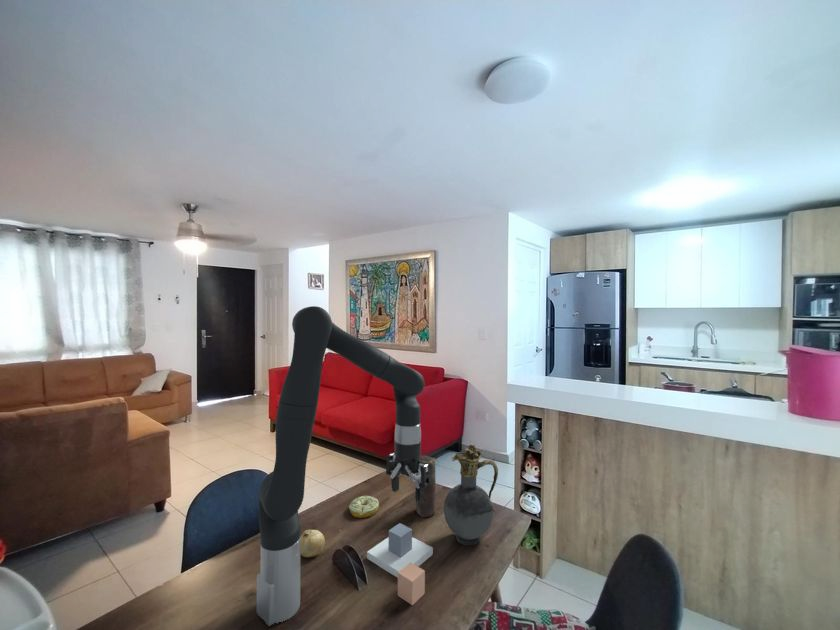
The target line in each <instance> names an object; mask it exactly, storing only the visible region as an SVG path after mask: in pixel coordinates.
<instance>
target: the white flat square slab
mask: <svg viewBox="0 0 840 630" xmlns="http://www.w3.org/2000/svg"><path fill="white" fill-rule="evenodd" d="M388 548H389V536H388V537H386V538H385V539H384V540H382V541H380V542H379V543H378V544H375V546H374V547H371V549H368V551H367V552H366V559H367V560H369V561H371V562H372V563H374V564H375V565H377V566H378V567H379V568H381V569H383V570H385V571H386V572H387V573H389V574H391V575H392V576H394V577H396V578H397V579H398V572H399V571H400V570H402V569H403V568H404V567H405V566H407V565H408V564H409V563H410V562H411V563H412V564H414V565H416V566H417V567H419V568H420V566H421V565H422V564H424V563H425V562H426V561H427V560H428V559H429V558H431V557H432V556H433V554H434V552H433V551H434V548H433V547H432V546H430V545H428V544H427V543H424V542H423V541H420V540H418V539H417V538H415V537H413V536H412V549H411V550H410V551H409V552H408V553H406V554H405V555H404V556H402V557H401V558H400V557H399V556H397V555H395V554H394V553H392V552H390V551H388Z"/></svg>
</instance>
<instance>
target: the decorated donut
mask: <svg viewBox="0 0 840 630" xmlns="http://www.w3.org/2000/svg"><path fill="white" fill-rule="evenodd" d="M379 505H380V503H379V500H378V499H377V498H376V497H374V496H370V495H362V496H358V497H356V498H355V499H352V501H351V502H350V504H349V506H348V509H349V510H350V511H349V513H350V514H351V515H352V516H353V517H354V518H358V519H363V518H365V519H366V518H367V517H368V518H369V517H371V516H374V515H375V514H376V513H377V511H378V510H379Z"/></svg>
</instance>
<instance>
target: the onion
mask: <svg viewBox="0 0 840 630" xmlns="http://www.w3.org/2000/svg"><path fill="white" fill-rule="evenodd" d="M325 544H326V538H325V536H324V534H323V533H322V532H321V531H319V530H318V529H310V528H309V529H306V530H304V531H303V533H302V535H301V546H300V556H302V557H304V558H313V557H317V556H318V555H320V554H321V552H322V551H323V549H324V547H325Z"/></svg>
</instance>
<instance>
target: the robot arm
mask: <svg viewBox="0 0 840 630" xmlns="http://www.w3.org/2000/svg"><path fill="white" fill-rule="evenodd" d="M332 320H333V319H332V318H331V316H330V314H329V313H328V311H327V310H325V309H324V308H323V307H320V306H316V305H314V306H307V307H304V308H301V309H300V310H299V311H297V312H296V313H295V314H294V316H293V318H292V322H291V323H292V324H291V327H292V331H293V333H294V337H293V339H294V340H293V348H292V349H293V350H292V356H291V362H290V365H289V369H288V370H287V374H286V376H285V379H284V382H283V385H282V388H281V391H280V396H279V400H278V404H277V411H276V418H275V461H274V462H275V463H274V465H273V466H274V468H273V470H272V471H271V472H269V473H268V474H267V475H266V476H265V477H264V479H263V480H262V482H261V484H260V486H259V491H258V492H259V493H258V521H259V522H258V524H259V525H258V526H259V536H260V568H259V569H260V571H259V573H258V574H257V575H256V614H257V613H258V614H259V615H260V617H261V618H262V619H263V620H264V621H265V622H266V623H265V622H264V621H263V620H262V619H261V618H260V617H259V618H260V619H261V620H262V621H263V622H264V623H265V624H266V625H267V624H268V625H269V626H270V625H272V624H273V625H275V624H274V623H276V624H279V622H281V623H283V621H284V622H285V620H286V621H288V620H290V619H291V618H292V617H293V616H295V615H296V614H297V612H298V611H299V609H300V606H301V555H300V546H301V532H302V531H301V530H302V527H301V522H300V516H299V510H300V508H301V506H302V504H303V501H304V498H305V483H306V470H307V469H306V468H307V459H308V454H309V451H310V445H311V441H312V435H313V431H314V430H313V429H314V425H315V421H316V416H317V415H316V414H317V410H318V404H319V397H320V396H319V395H320V390H321V389H320V388H321V378H322V369H323V368H322V367H323V361H324V357H325V355H326V351H327V349H328V350H329V351H332V352H334V353H335V354H338V355H339V356H341V357H342V358H343V359H346V360H347V361H348V362H351V363H352V364H354V365H355V366H356V367H358V368H360V369H361V370H362V371H364V372H367V374H370V375H371V376H373V377H375V378H376V379H379V380H381V381H383V382H385V383H387V384H389V385H391V386H392V388H393V395H394V402H395V409H396V410H395V429H394V452H391V453H388V454H387V455H386V463H385V465H386V467H385V474H386V475H387V476H390V479H391V491H392V492H393V493H396V492H398V490H400V477H399V476H400V474H401V475H403V476H404V475H405V476H406V477H409V478H410V480H411V482H413V483H414V485H415V500H414V501H415V502H416V501H417V502H418V501H420V500H421V499H422V498H423V489H424V488H425V487H427V486H429V485H430V471H429V464H421V463H420V460H419V458H420V456H422V455H421V454H422V453H421V452H422V429H421V405H420V404H419V403H418V402H419V401H418V400H417V395H419V394H421V393H422V392H423V390H424V389H425V378H424V376H423V375H422V374H421V373H420V372H419V371H417V370H415V369H414V368H412V367H410V366H408V365H406V364H405V363H402V362H400V361H398V360H397V359H395V358H394V357H392V356H391V355H390V354H388V353H386V352H384V351H383V350H381V349H379V348H378V347H376V346H374V345H373V344H371V343H368V342H367V341H364V340H362V339H360V338H358V337H356V336H354V335H352V334H350V333H349V332H347V331H345V330H343V329H342V328H341V327H340V326H338V325H336V324H335V323H334V322H332ZM419 469H420V470H419ZM416 474H417V476H416ZM417 479H418V480H419V482H420V483H419V482H418V480H417ZM258 614H257V615H258ZM259 615H258V616H259ZM287 619H288V620H287ZM268 625H267V626H268ZM273 625H272V626H273ZM269 626H268V627H269ZM270 627H271V626H270Z"/></svg>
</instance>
